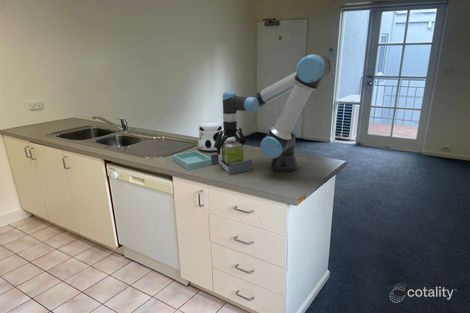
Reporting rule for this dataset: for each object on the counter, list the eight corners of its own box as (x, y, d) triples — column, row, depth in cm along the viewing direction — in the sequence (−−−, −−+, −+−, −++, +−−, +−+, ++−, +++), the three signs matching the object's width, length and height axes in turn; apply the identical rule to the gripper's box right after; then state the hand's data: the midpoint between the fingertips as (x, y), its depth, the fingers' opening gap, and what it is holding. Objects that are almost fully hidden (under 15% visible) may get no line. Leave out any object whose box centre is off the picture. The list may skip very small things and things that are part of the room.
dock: (251, 169, 180) (251, 159, 178) (230, 175, 172) (230, 164, 171) (230, 160, 197) (230, 150, 195) (210, 164, 189) (210, 154, 187)
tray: (213, 164, 189) (213, 158, 188) (188, 170, 180) (188, 164, 179) (196, 156, 206) (196, 150, 204) (173, 160, 197) (173, 155, 196)
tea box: (217, 164, 189) (217, 140, 185) (233, 162, 193) (233, 138, 189) (227, 172, 176) (227, 146, 172) (244, 170, 180) (244, 144, 175)
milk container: (193, 149, 221) (192, 123, 216) (214, 144, 231) (214, 120, 226) (207, 154, 208) (206, 127, 202) (229, 150, 218) (228, 124, 212)
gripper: (244, 117, 186) (244, 152, 192) (206, 122, 173) (208, 159, 179) (252, 119, 180) (252, 155, 186) (213, 124, 167) (214, 163, 173)
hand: (230, 157), depth 183 cm, fingers open, 13 cm apart
